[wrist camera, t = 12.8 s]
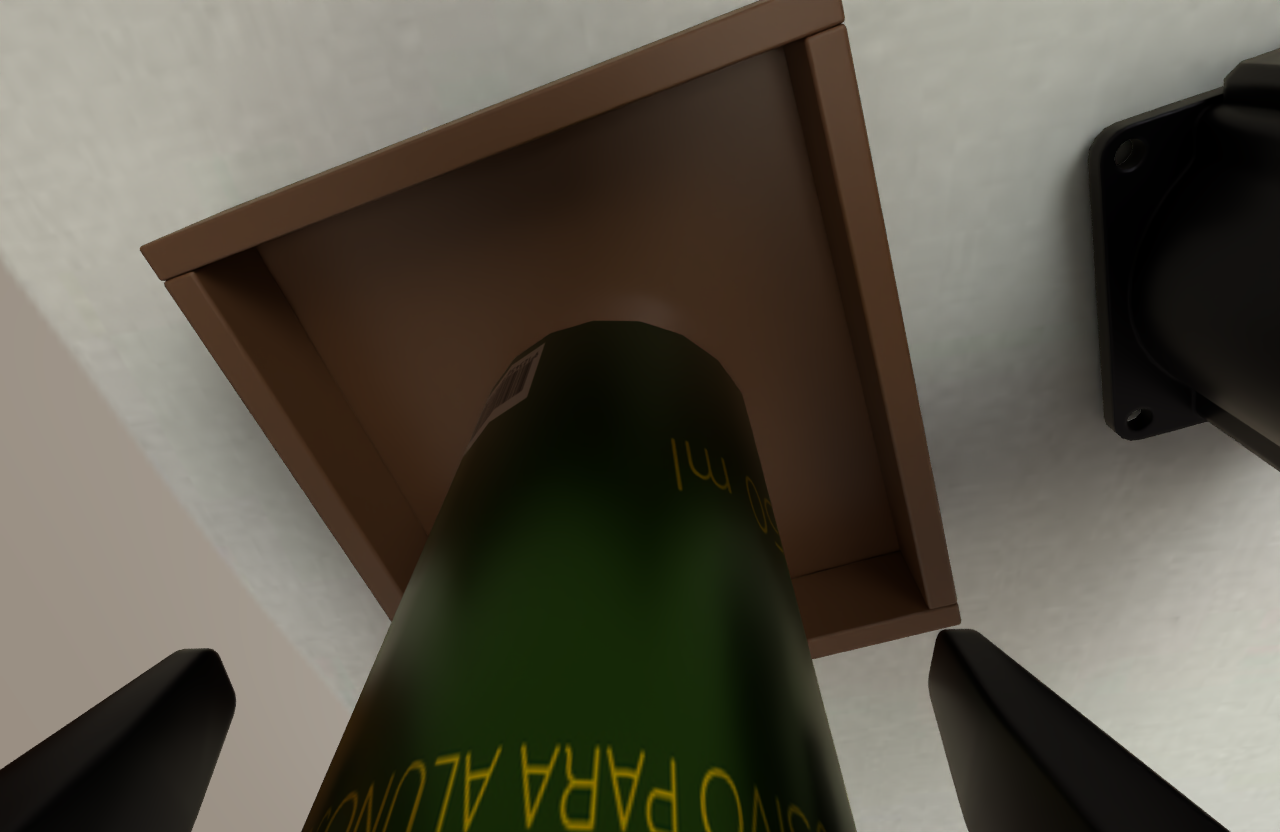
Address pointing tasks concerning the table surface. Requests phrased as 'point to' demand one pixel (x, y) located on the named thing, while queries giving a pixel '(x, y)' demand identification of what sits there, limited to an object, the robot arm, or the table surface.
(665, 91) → the tray
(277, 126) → the table surface
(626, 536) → the beer can
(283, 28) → the table surface
